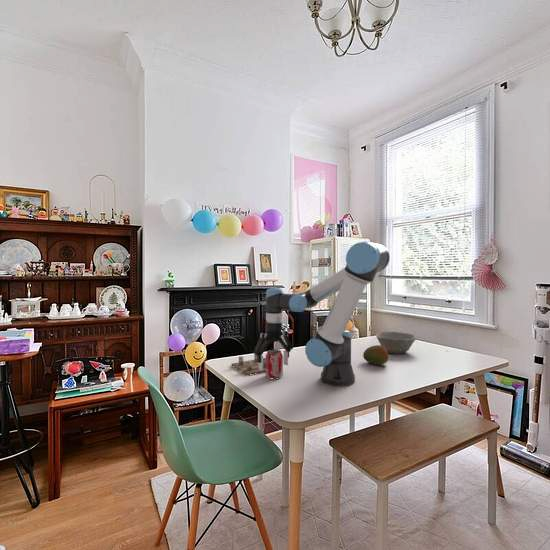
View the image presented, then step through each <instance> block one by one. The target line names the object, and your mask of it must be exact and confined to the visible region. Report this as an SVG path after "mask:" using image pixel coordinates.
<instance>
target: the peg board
mask: <svg viewBox="0 0 550 550" xmlns="http://www.w3.org/2000/svg"><path fill="white" fill-rule="evenodd" d="M253 355H254V357H253V358H254V359H251V360H250V359H249V360H244V356H238V362H234V363H231V364H230V365H232V366H234V367H235V368H237V369H238V370H240V371H242V372H243V373H245V374H246V375H245V374H244V375H245V376H247V375H249V376H251V375H250V374H254V375H256V374H255V373H259V374H262V373H261V372H264V373H266V357H263V370H260V369H259V363H258V362H257V355H255V354H254V353H253ZM232 366H231V367H232ZM234 367H233V368H234ZM235 368H234V369H235ZM237 369H236V370H237ZM238 370H237V371H238ZM240 371H239V372H240ZM242 372H241V373H242ZM243 373H242V374H243Z"/></svg>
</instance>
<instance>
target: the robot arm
mask: <svg viewBox="0 0 550 550" xmlns="http://www.w3.org/2000/svg"><path fill="white" fill-rule="evenodd" d="M390 255H391V254H390V252H389V251H388V249H387V248H386V247H385V246H384V245H383V244H380V243H375V242H370V241H360V242H357V243H354V244H353V245H351V247H349V248H348V250H347V252H346V255H345V262H346V265H345V267H344V268H342V269H340V270H339V271H337V272H336V273H334V274H332V275H330V276H329V277H328V278H325V279H324V280H322V281H320V282H319V283H317V284H316V285H314V286H312V287H311V288H310V289H308V290H306V291H304V292H298V293H283V292H284V291H283V289H282V288H279V287H277V288H275V287H270V288H268V289H266V291H265V292H266V296H265V320H266V322H265V333H263V332H260V333H259V338H258V341H257V342H256V343H257V344H256V346H255V348H254V350H253V355H254V354H255V355H257V362H258V363H259V369H260V370H263V358H264V355H263V354H264V352H265V351H266V349H268V346H269V345H270V344H271V343H275V342H277V343H279V344H280V346H281V347H282V348H283V349H284V350H283V366H289V358H290V352H291V350H293V349H294V347H293V345H292V342H291V340H290V337H289V334H288V331H287V330H285V329H283V323H282V322H283V311H287V312H293V313H294V312H295V313H297V312H298V313H302V312H303V313H304V311H305V310H307V309H312V308H314V307H316V306H317V305H318V304H319V303H320V302H322V301H324V300H326V299H327V298H329V297H331V296H333V295H334V294H336V293H337V294H336V297H335V299H334V301H333V303H332V306H331V307H330V310H329V312H328V314H327V316H326V318H325V321H324V323H323V324H322V326H320V327H318V328H317V329H316V331H315V333H314V336H313V338H312V339H309V340H308V341H307V343H306V345H305V348H304V349H305V351H304V352H305V355H306V358H307V360H308V362H310V363H311V364H312V365H314V366H315V367H318V368H320V367H321V368H322V371H321V374H320V380H321V382H323V383H325V384H327V385H331V386H340V387H341V386H350V385H353V384H354V383H355V382H356V376H355V373H354V368H353V365H352V333H351V331H350V330H348V329H347V326H348V325H349V322H350V320H351V318H352V316H353V314H354V312H355V310H356V308H357V305H358V303H359V302H360V299H361V297H362V295H363V293H364V292H365V289H366V287H367V285H369V284H371V283H373V281H374V279H375V277H376V275H377V274H378V273H379V272H382V271H383V270H385V269H386V268H387V266H388V265H389V263H390V259H391V258H390V257H391V256H390ZM282 336H283V338H282Z"/></svg>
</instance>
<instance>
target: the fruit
mask: <svg viewBox="0 0 550 550" xmlns="http://www.w3.org/2000/svg"><path fill="white" fill-rule="evenodd" d="M362 357H363V359H364V361H366V362H367V363H370V364H372V365H377V366H378V365H379V366H381V365H384V364H386V363H387V362H388V359H389V352H387V350H386V348H385V347H383V346H381V345H380V344H378V345H371V346H370V347H369V346H368V347H367V348H366V349H365V350H364V352H363V355H362Z"/></svg>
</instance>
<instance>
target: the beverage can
mask: <svg viewBox="0 0 550 550" xmlns="http://www.w3.org/2000/svg"><path fill="white" fill-rule="evenodd" d="M265 358H266V372H265V377H269V378H273V379H272V380H278V379H277V378H280V377H281V378H282V377H283V376H284V373H283V372H284V364H283V361H284V354H283V353H282V350H280V349H269V350H267V352H266V355H265ZM269 378H268V379H269ZM281 378H280V379H281Z"/></svg>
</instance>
